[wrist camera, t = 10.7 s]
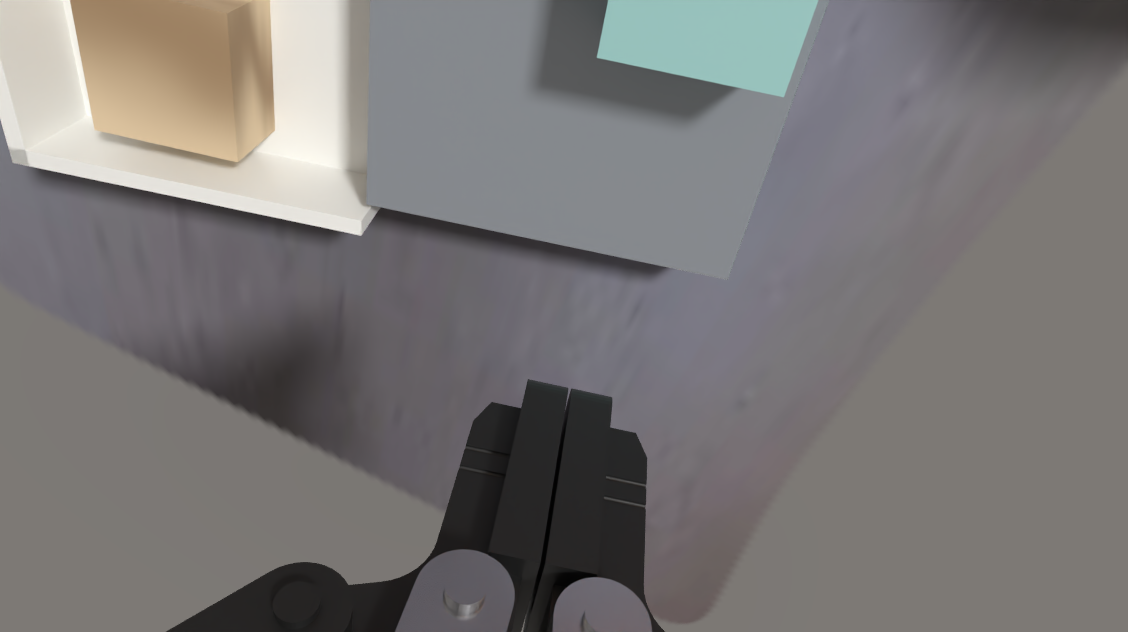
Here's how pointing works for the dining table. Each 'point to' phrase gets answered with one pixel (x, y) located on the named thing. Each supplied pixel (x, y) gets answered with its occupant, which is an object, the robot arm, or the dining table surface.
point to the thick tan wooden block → (179, 72)
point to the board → (562, 132)
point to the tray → (254, 184)
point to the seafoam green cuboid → (710, 39)
